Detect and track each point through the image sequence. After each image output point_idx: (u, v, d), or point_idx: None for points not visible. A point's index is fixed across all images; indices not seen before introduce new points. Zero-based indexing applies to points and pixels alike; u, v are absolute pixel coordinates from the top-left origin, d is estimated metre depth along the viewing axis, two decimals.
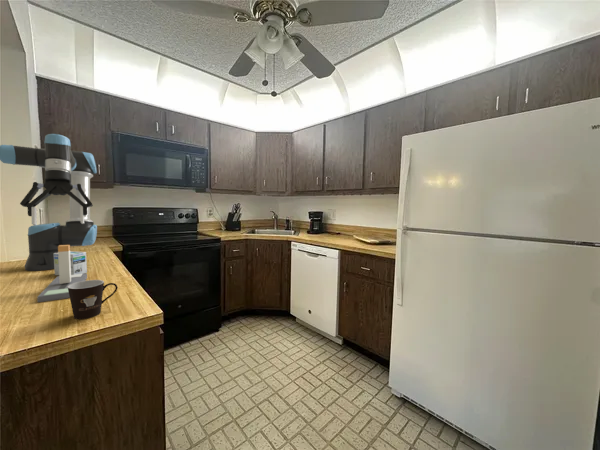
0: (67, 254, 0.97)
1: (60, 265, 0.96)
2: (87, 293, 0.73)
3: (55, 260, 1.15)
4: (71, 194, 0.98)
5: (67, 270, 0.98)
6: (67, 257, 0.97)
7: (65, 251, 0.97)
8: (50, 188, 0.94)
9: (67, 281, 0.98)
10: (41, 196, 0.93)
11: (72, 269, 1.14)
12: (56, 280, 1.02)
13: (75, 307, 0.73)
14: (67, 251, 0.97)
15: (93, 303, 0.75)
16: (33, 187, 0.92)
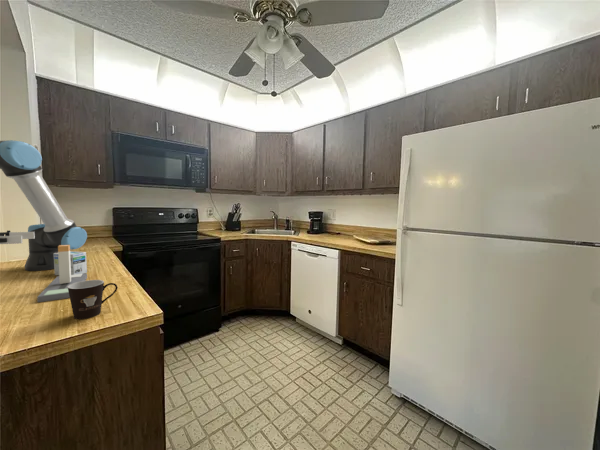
0: (67, 254, 0.97)
1: (60, 265, 0.96)
2: (87, 293, 0.73)
3: (55, 260, 1.15)
4: None
5: (67, 270, 0.98)
6: (67, 257, 0.97)
7: (65, 251, 0.97)
8: None
9: (67, 281, 0.98)
10: None
11: (72, 269, 1.14)
12: (56, 280, 1.02)
13: (75, 307, 0.73)
14: (67, 251, 0.97)
15: (93, 303, 0.75)
16: None
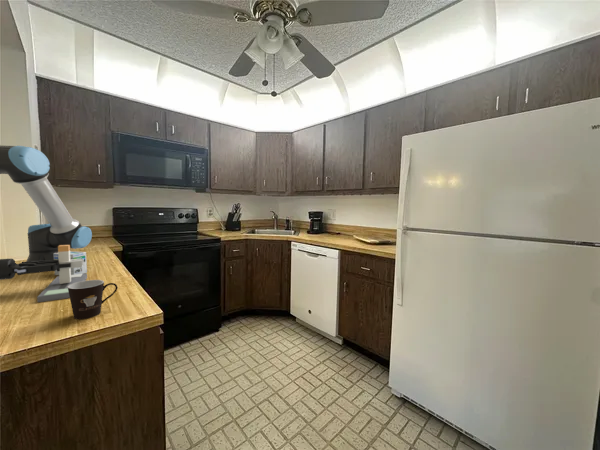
0: (67, 254, 0.97)
1: None
2: (87, 293, 0.73)
3: None
4: None
5: (67, 270, 0.98)
6: (67, 257, 0.97)
7: (65, 251, 0.97)
8: None
9: (67, 281, 0.98)
10: None
11: (72, 269, 1.14)
12: (56, 280, 1.02)
13: (75, 307, 0.73)
14: (67, 251, 0.97)
15: (93, 303, 0.75)
16: None
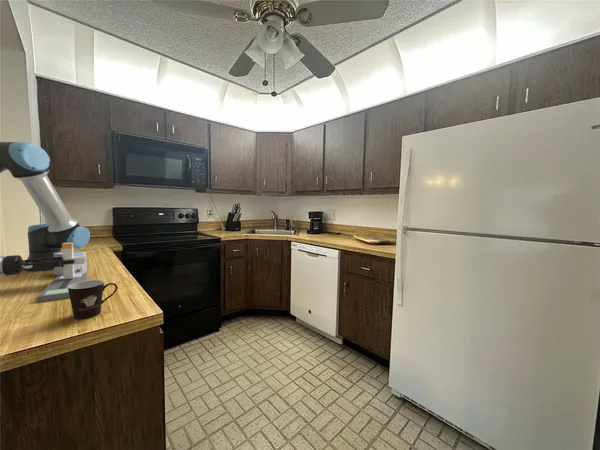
0: (70, 251, 1.03)
1: None
2: (87, 293, 0.73)
3: None
4: None
5: (71, 266, 1.03)
6: (70, 254, 1.03)
7: (69, 248, 1.02)
8: None
9: (70, 277, 1.03)
10: None
11: None
12: (56, 280, 1.02)
13: (75, 307, 0.73)
14: (70, 248, 1.03)
15: (93, 303, 0.75)
16: None
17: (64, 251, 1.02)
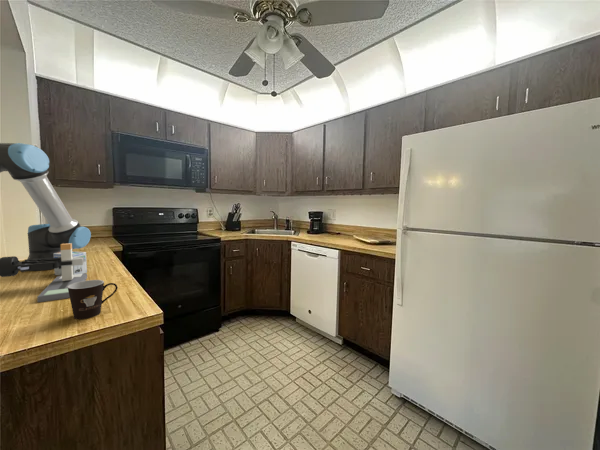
0: (69, 252, 1.01)
1: None
2: (87, 293, 0.73)
3: None
4: None
5: (70, 268, 1.01)
6: (69, 255, 1.01)
7: (67, 249, 1.00)
8: None
9: (69, 278, 1.01)
10: None
11: None
12: (56, 280, 1.02)
13: (75, 307, 0.73)
14: (69, 249, 1.01)
15: (93, 303, 0.75)
16: None
17: (63, 252, 1.00)
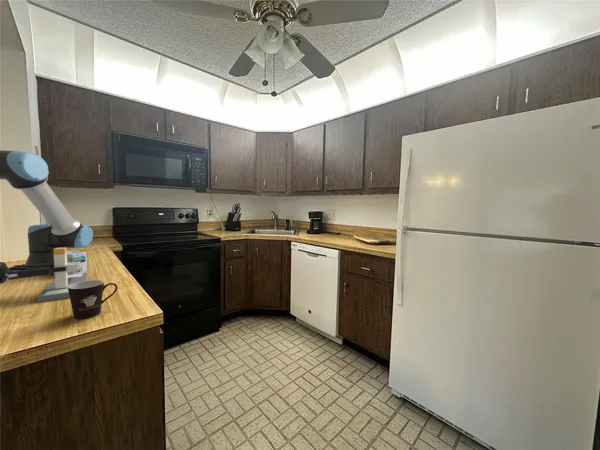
0: (63, 257, 0.92)
1: None
2: (87, 293, 0.73)
3: None
4: None
5: (64, 274, 0.92)
6: (63, 260, 0.92)
7: (61, 254, 0.91)
8: None
9: (63, 286, 0.92)
10: None
11: None
12: None
13: (75, 307, 0.73)
14: (63, 254, 0.92)
15: (93, 303, 0.75)
16: None
17: (56, 257, 0.91)
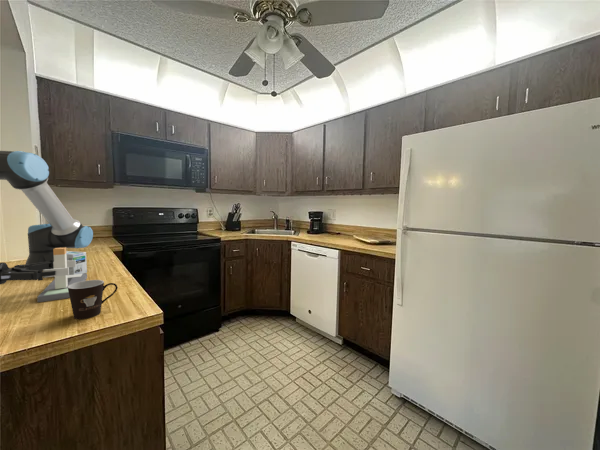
0: (63, 257, 0.92)
1: None
2: (87, 293, 0.73)
3: None
4: None
5: None
6: (63, 261, 0.92)
7: (61, 254, 0.91)
8: None
9: (63, 286, 0.92)
10: None
11: (72, 269, 1.14)
12: None
13: (75, 307, 0.73)
14: (63, 254, 0.91)
15: (93, 303, 0.75)
16: None
17: (56, 257, 0.90)
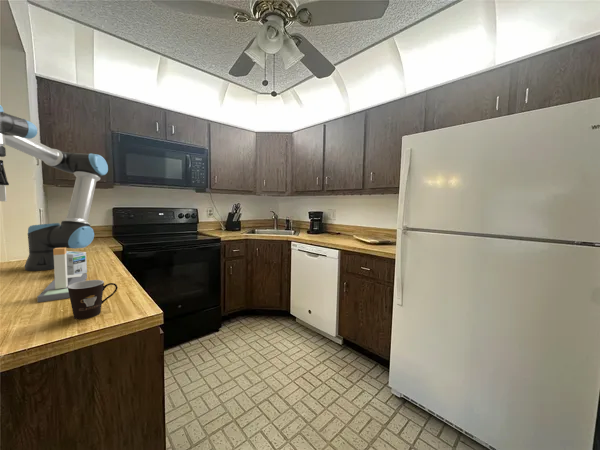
0: (63, 257, 0.92)
1: (56, 269, 0.91)
2: (87, 293, 0.73)
3: None
4: None
5: (63, 274, 0.92)
6: (63, 261, 0.92)
7: (61, 254, 0.91)
8: None
9: (63, 286, 0.92)
10: None
11: (72, 269, 1.14)
12: None
13: (75, 307, 0.73)
14: (63, 254, 0.91)
15: (93, 303, 0.75)
16: None
17: (56, 257, 0.90)
